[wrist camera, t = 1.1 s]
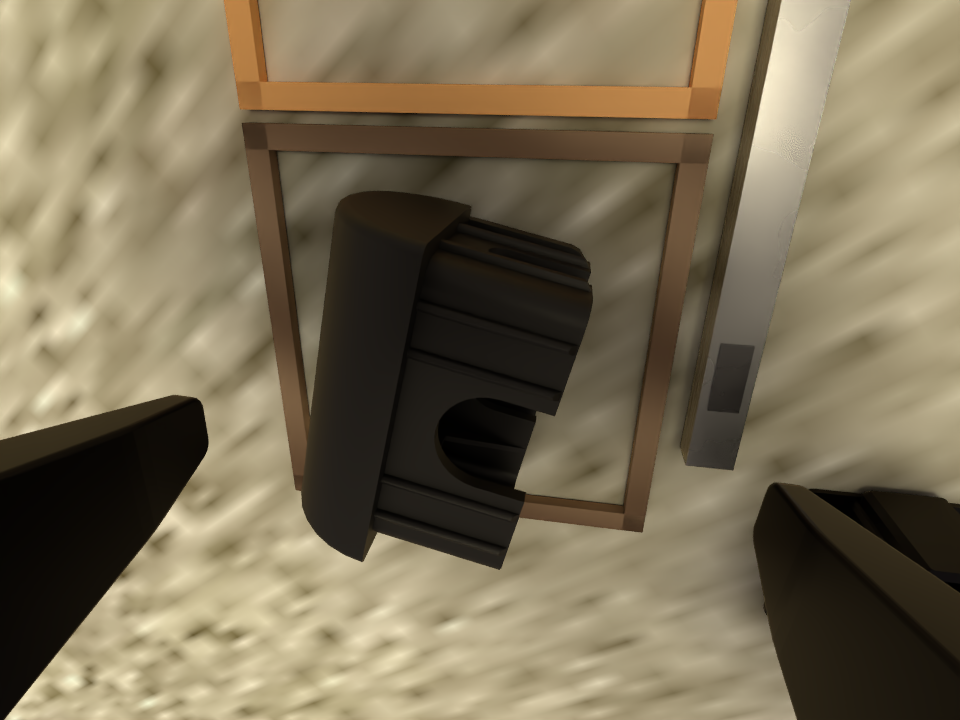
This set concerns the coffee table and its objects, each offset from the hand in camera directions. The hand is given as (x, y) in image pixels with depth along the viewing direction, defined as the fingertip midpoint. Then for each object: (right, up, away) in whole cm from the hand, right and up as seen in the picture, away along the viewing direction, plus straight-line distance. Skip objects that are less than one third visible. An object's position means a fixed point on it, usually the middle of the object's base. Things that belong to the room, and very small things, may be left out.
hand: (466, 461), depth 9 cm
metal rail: (+9, +8, +7) cm, 14 cm away
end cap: (-1, +2, +12) cm, 12 cm away
